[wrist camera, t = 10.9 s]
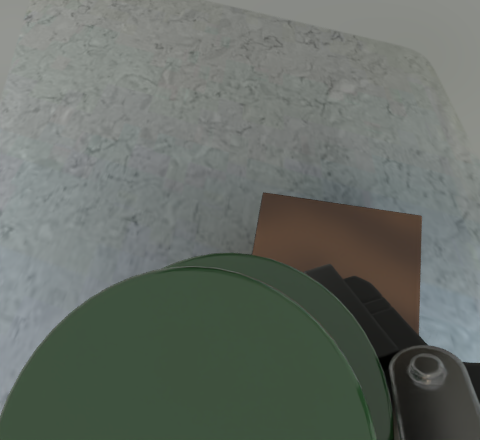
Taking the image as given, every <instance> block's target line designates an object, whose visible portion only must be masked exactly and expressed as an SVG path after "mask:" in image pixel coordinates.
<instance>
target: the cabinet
mask: <svg viewBox="0 0 480 440" xmlns="http://www.w3.org/2000/svg"><path fill="white" fill-rule="evenodd" d="M421 228H422V216H420V215H413V214H406V213H399V212H393V211H386V210H379V209H372V208H366V207H359V206H352V205H345V204H338V203H332V202H325V201H318V200H311V199H305V198H298V197H291V196H284V195H278V194H271V193H263V195H262V200H261V206H260V212H259V218H258V223H257V229H256V235H255V241H254V247H253V252H252V255H257V256H261V257H266V258H270V259H273V260H276V261H279V262H282V263H285V264H287V265H290V266H292V267H294V268H296V269H298V270H300V271H302V272H304V271H308V270H311V269H314V268H317V267H320V266H324V265H327V264H331V265H332V266H333V267H334V268H335V270H336V271H337V272H338V273H339V275H340V276H341V277H342V278H343V279H345V278H348V277H351V276H354V275H355V276H357V277H359V278H362V279H364V280H366V281H368V282H370V283H372V284H373V285H374V287H375V288H376V289H377V290H378V291H379V292H380V293H381V294H382V297H384V298H385V299H386V300H387V301H388V302H389V303H390V304H391V307H393V308H394V309H395V310H396V311H397V312H398V313H399V314H400V315H401V316H402V317H403V319H404V320H405V321H406V322H407V323H408V324H409V325H410V326H411V327H412V328H413V330H414V331H415V332H416V333H417V334H418V335H419V306H420V267H421Z"/></svg>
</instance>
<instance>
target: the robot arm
mask: <svg viewBox="0 0 480 440" xmlns="http://www.w3.org/2000/svg"><path fill="white" fill-rule="evenodd" d="M304 273H306V274H307V275H309V276H310V277H312V278H313V279H315V280H316V281H318V282H319V283H321V284H322V285H323V286H325V287H326V288H327V289H328V290H329V291H330V292H332V293H333V294H334V295H335V296H336V297H337V298H338V299H339V300H340V301H341V302H342V303H343V304H344V305H345V306H346V307H347V308H348V310H349V311H350V312H351V313H352V314H353V315H354V317H355V318H356V320H357V321H358V322H359V324H360V325H361V327H362V328H363V330H364V331H365V333H366V334H367V336H368V338H369V340H370V342H371V344H372V345H373V347H374V349H375V351H376V353H377V356H378V358H379V361H380V363H381V366H382V368H383V371H384V374H385V377H386V381H387V385H388V389H389V392H390V397H391V403H392V410H393V417H394V440H480V363H467V362H461V360H460V359H458V358H457V357H456V356H455V355H453V354H452V353H450V352H448V351H446V350H444V349H441V348H438V347H434V346H428V345H427V344H426V343H425V342H424V341H423V340H422V338H421V337H420V336H419V335H418V334H417V333H416V332H415V331H414V330H413V328H412V327H411V326H410V325H409V324H408V323H407V322H406V321H405V320H404V319H403V317H402V316H401V315H400V314H399V313H398V312H397V311H396V310H395V309H394V308H393V307H391V304H390V303H389V302H388V301H387V300H386V299H385V298H384V297H382V294H381V293H380V292H379V291H378V290H377V289H376V288H375V287H374V285H373V284H372V283H370V282H368V281H366V280H364V279H362V278H359V277H357V276H355V275H354V276H351V277H348V278H345V279H343V278H342V277H341V276H340V275H339V273H338V272H337V271H336V270H335V268H334V267H333V266H332V265H331V264H327V265H324V266H320V267H317V268H314V269H311V270H308V271H304Z"/></svg>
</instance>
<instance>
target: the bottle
mask: <svg viewBox="0 0 480 440" xmlns="http://www.w3.org/2000/svg"><path fill="white" fill-rule="evenodd" d="M0 440H394V417H393V410H392V403H391V397H390V392H389V389H388V385H387V381H386V377H385V374H384V371H383V368H382V366H381V363H380V361H379V358H378V356H377V353H376V351H375V349H374V347H373V345H372V344H371V342H370V340H369V338H368V336H367V334H366V333H365V331H364V330H363V328H362V327H361V325H360V324H359V322H358V321H357V320H356V318H355V317H354V315H353V314H352V313H351V312H350V311H349V310H348V308H347V307H346V306H345V305H344V304H343V303H342V302H341V301H340V300H339V299H338V298H337V297H336V296H335V295H334V294H333V293H332V292H330V291H329V290H328V289H327V288H326V287H325V286H323V285H322V284H321V283H319V282H318V281H316V280H315V279H313V278H312V277H310V276H309V275H307V274H306V273H304V272H302V271H300V270H298V269H296V268H294V267H292V266H290V265H287V264H285V263H282V262H279V261H276V260H273V259H270V258H266V257H261V256H257V255H252V254H242V253H213V254H207V255H201V256H195V257H192V258H188V259H185V260H182V261H178V262H176V263H173V264H171V265H169V266H166V267H164V268H162V269H159V270H153V271H150V272H146V273H143V274H139V275H136V276H133V277H130V278H128V279H125V280H123V281H121V282H118V283H116V284H114V285H112V286H110V287H108V288H106V289H104V290H103V291H101V292H99V293H98V294H96V295H94V296H93V297H91V298H89V299H88V300H87V301H85V302H84V303H83V304H81V305H80V306H79V307H77V308H76V309H75V310H73V311H72V312H71V313H70V314H69V315H68V316H67V317H65V318H64V319H63V320H62V321H61V322H60V323H59V324H58V325H57V326H56V327H55V328H54V329H53V330H52V331H51V332H50V333H49V334H48V336H47V337H46V338H45V339H44V340H43V342H42V343H41V344H40V345H39V346H38V347H37V349H36V350H35V351H34V353H33V354H32V356H31V357H30V359H29V360H28V362H27V363H26V365H25V366H24V368H23V369H22V371H21V372H20V374H19V376H18V378H17V380H16V382H15V384H14V386H13V388H12V389H11V391H10V393H9V395H8V398H7V400H6V403H5V405H4V408H3V410H2V413H1V415H0Z"/></svg>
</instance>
